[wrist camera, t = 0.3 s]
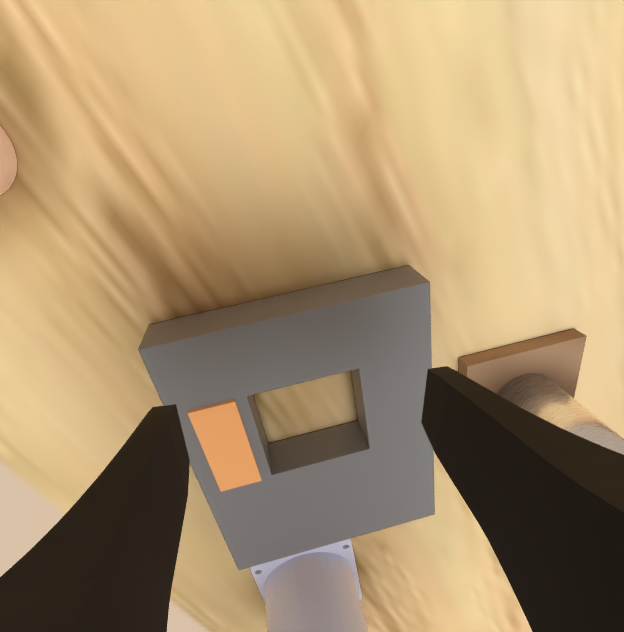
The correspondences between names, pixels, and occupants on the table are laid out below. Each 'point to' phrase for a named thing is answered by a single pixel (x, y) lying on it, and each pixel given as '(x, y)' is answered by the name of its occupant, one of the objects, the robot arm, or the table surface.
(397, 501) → the hole plate
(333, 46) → the table surface
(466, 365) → the tab
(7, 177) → the smoothie
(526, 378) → the steel peg
